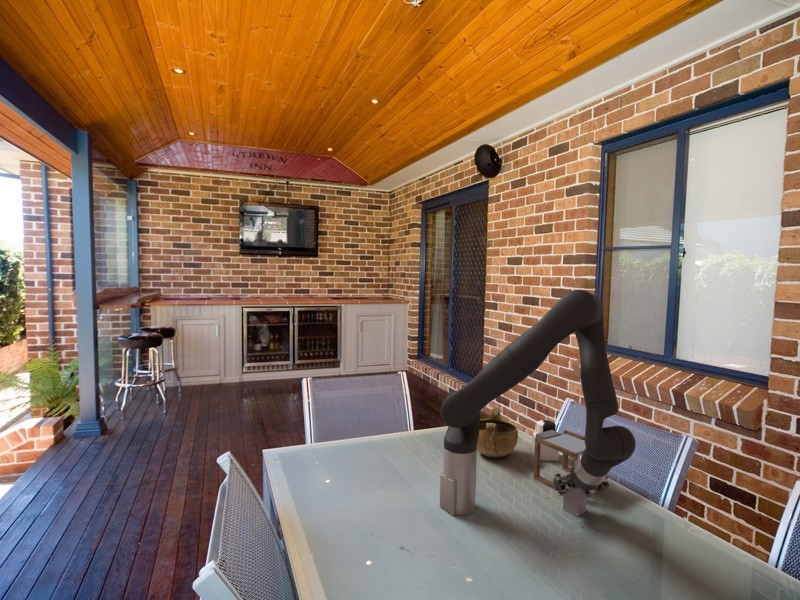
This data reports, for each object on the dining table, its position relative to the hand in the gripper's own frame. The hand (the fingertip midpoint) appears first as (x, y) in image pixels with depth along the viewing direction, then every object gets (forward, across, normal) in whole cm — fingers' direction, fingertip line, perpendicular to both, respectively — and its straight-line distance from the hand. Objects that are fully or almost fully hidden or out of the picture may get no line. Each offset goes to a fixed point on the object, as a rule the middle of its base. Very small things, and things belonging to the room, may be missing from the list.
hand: (573, 492), depth 129 cm
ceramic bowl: (+29, +17, -22) cm, 40 cm away
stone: (+2, 0, +4) cm, 5 cm away
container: (+29, -2, -22) cm, 36 cm away
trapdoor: (+7, -2, -17) cm, 19 cm away
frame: (+14, -4, -8) cm, 17 cm away
